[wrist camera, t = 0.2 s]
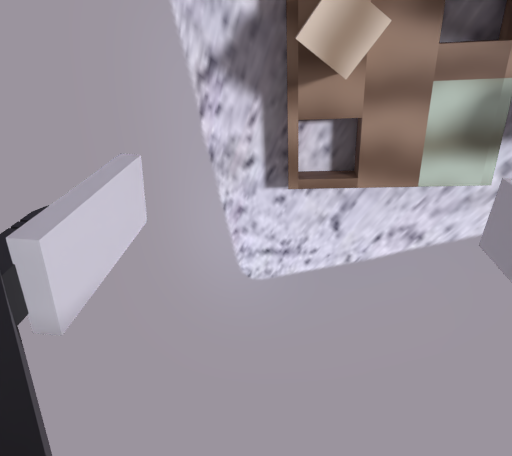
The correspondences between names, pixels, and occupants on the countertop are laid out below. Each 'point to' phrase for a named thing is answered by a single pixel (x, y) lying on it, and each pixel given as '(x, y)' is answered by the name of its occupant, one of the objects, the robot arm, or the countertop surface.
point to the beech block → (342, 32)
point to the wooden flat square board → (405, 101)
